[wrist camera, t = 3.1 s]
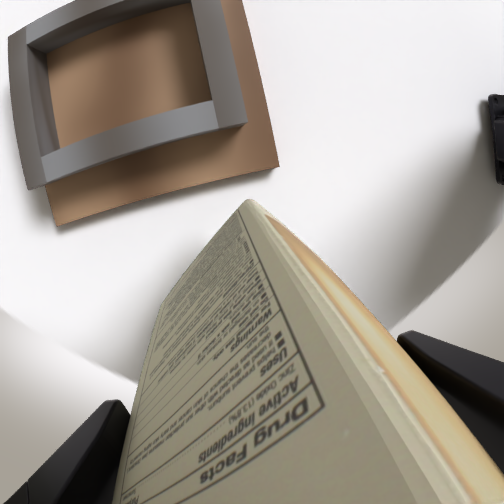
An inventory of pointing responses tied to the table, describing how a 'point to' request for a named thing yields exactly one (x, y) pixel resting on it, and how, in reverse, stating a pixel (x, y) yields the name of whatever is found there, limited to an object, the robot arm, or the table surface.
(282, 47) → the table surface
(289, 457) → the skincare box
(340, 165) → the table surface
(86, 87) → the holder
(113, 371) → the table surface
